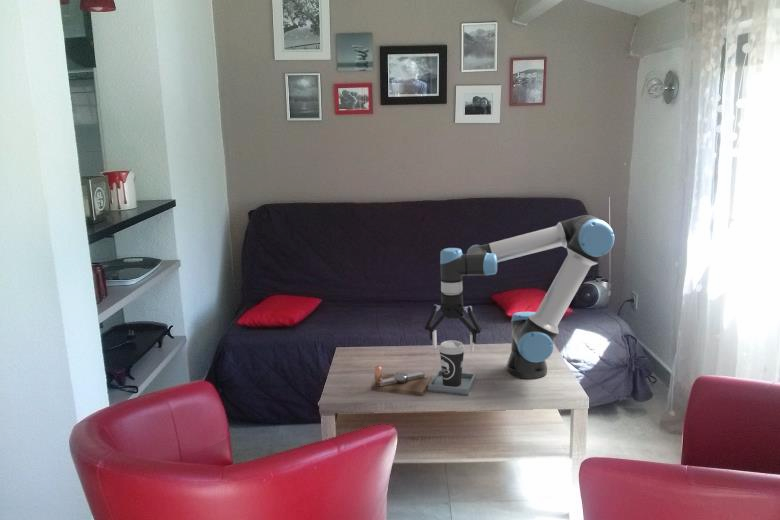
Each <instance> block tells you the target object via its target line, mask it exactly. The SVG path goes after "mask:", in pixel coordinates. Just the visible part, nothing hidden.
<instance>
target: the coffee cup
mask: <svg viewBox="0 0 780 520" xmlns="http://www.w3.org/2000/svg"><path fill="white" fill-rule="evenodd" d="M465 351H466V347H465V346H464V344H463V342H461V341H459V340H445V341H442V342H441V343H440V345H439V346H438V352H439V355H440V356H439V357H440V366H441V370H442V379H443V385H445V386H450V387H457V386H460V385H461V378H462V372H463V364H464V363H463V362H464V357H465V356H464V355H465Z"/></svg>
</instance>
